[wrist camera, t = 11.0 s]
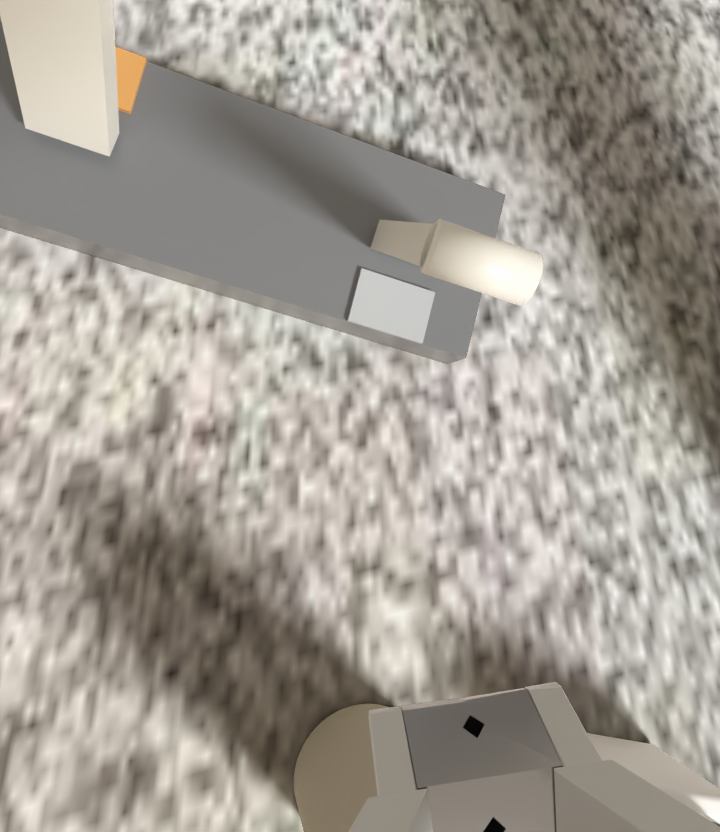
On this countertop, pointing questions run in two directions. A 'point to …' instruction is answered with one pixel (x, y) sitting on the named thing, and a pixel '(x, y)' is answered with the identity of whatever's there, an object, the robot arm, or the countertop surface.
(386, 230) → the inner lever
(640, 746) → the medicine bottle
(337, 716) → the travel mug
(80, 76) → the outer lever
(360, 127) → the countertop surface
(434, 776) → the robot arm
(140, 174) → the switch unit
